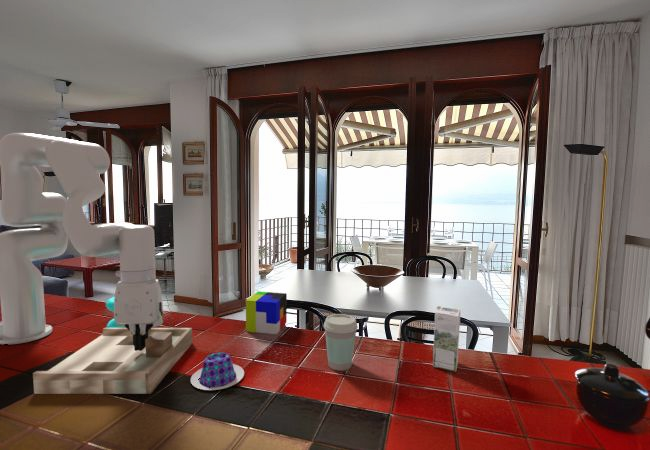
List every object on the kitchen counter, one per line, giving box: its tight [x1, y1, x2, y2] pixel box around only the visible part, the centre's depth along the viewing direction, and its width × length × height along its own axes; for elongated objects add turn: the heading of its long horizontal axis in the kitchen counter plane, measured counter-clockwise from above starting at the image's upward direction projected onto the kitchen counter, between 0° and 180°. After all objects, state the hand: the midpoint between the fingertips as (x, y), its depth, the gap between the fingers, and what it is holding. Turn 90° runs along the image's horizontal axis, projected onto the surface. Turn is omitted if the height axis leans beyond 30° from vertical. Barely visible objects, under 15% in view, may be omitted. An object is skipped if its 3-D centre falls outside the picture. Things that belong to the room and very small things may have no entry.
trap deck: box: [32, 327, 193, 395], centre depth 86 cm, size 24×25×4 cm
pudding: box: [190, 352, 245, 391], centre depth 81 cm, size 12×12×5 cm
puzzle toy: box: [245, 291, 288, 335], centre depth 112 cm, size 10×10×10 cm
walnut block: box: [145, 332, 172, 358], centre depth 86 cm, size 4×4×4 cm
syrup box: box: [432, 305, 461, 372], centre depth 88 cm, size 6×6×14 cm
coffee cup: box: [323, 313, 358, 371], centre depth 87 cm, size 8×8×12 cm
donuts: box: [105, 296, 141, 328], centre depth 109 cm, size 10×10×10 cm
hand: (141, 348), depth 86 cm, fingers closed
